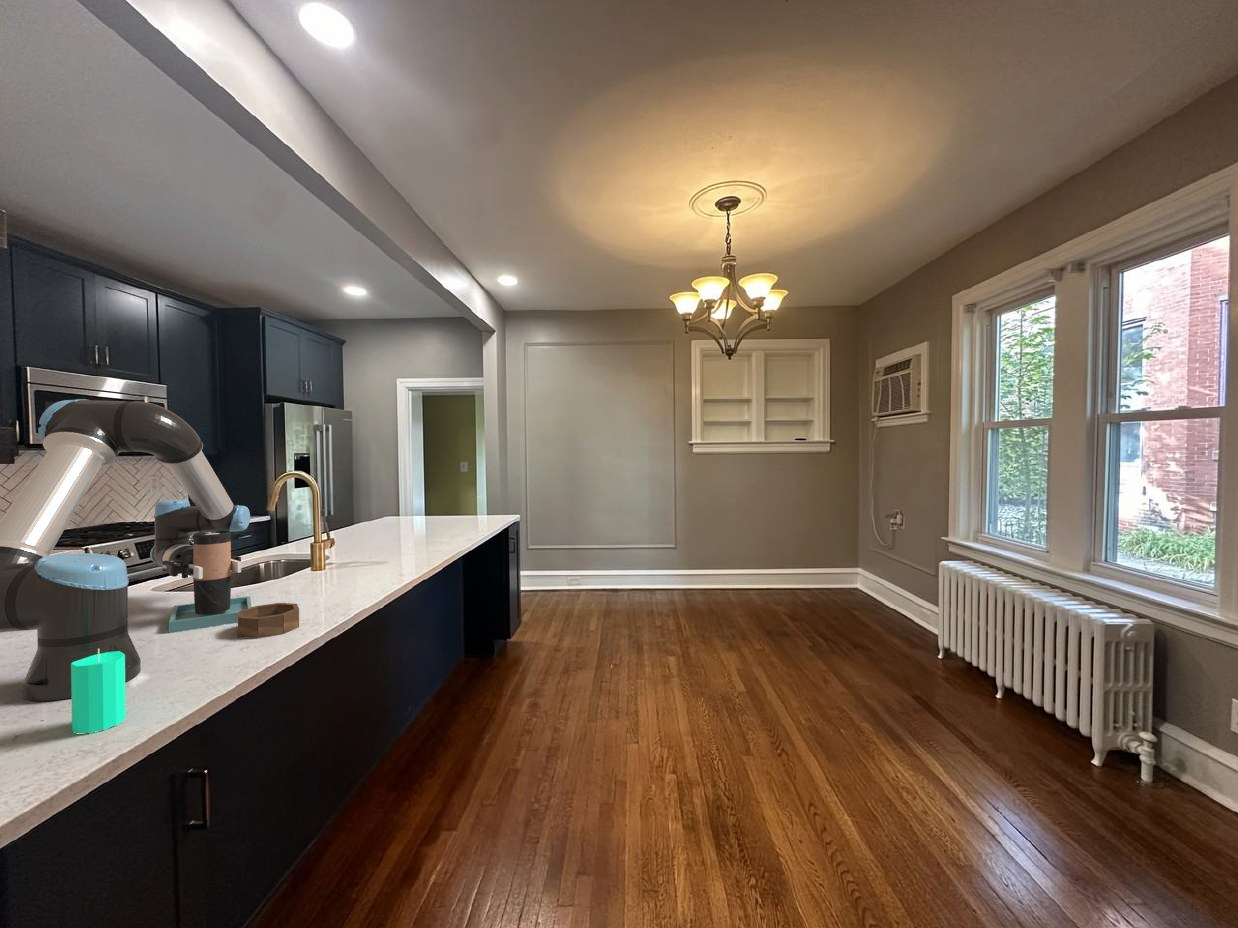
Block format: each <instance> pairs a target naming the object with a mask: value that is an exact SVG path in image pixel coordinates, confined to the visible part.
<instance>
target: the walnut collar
mask: <svg viewBox="0 0 1238 928" xmlns="http://www.w3.org/2000/svg"><path fill="white" fill-rule="evenodd" d="M297 628H300V608H299V604H298V603H290V602H276V603H269V604H267V603H266V604H261V605H256V606H255V605H254V606H252V607H251V608H249V609H246V610H243V611H240V612H238V623H237V635H238V636H237V637H238V638H248V639H261V638H267V637H273V636H279V635H280V636H281V635H285V634H286V633H288V632H291V631H293V630H296V629H297Z"/></svg>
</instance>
